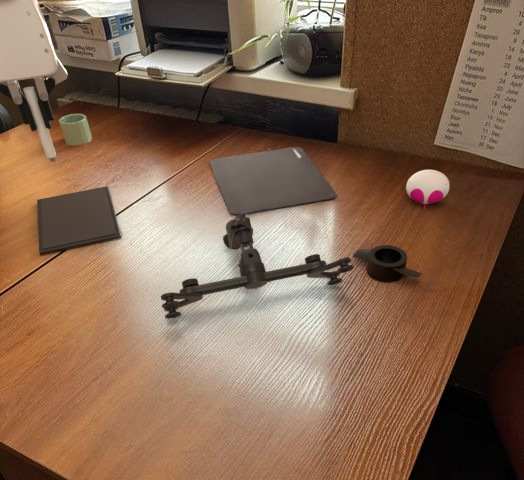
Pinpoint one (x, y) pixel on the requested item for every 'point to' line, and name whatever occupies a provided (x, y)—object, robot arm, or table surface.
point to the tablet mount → (250, 270)
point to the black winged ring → (385, 263)
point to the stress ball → (427, 186)
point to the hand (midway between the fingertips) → (41, 126)
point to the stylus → (40, 123)
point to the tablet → (76, 220)
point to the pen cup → (75, 129)
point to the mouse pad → (269, 180)
